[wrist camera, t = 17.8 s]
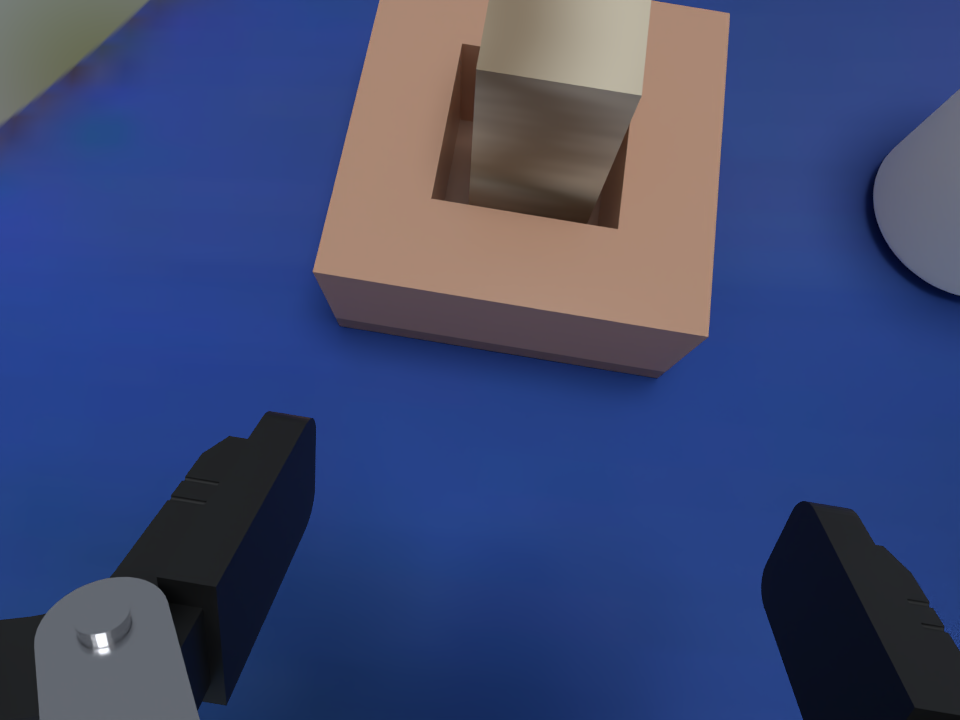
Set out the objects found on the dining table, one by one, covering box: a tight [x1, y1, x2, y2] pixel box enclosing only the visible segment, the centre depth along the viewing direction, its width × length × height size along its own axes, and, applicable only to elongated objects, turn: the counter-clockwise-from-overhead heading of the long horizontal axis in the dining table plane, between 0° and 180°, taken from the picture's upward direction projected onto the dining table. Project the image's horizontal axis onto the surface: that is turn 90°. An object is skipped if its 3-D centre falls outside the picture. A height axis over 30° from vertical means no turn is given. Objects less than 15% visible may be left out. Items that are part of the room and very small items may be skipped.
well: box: [313, 0, 730, 378], centre depth 26 cm, size 13×13×6 cm
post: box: [469, 0, 651, 224], centre depth 23 cm, size 4×4×10 cm
